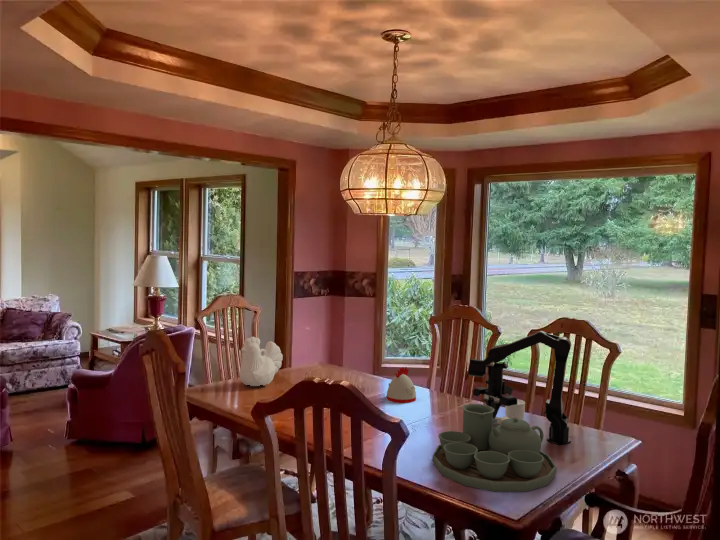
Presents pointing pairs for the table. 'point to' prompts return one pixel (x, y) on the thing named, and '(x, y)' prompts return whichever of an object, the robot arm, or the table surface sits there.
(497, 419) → the white key
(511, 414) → the white cup
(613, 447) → the table surface
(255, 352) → the decorative rooster
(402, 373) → the chicken tea cozy
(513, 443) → the tea set
